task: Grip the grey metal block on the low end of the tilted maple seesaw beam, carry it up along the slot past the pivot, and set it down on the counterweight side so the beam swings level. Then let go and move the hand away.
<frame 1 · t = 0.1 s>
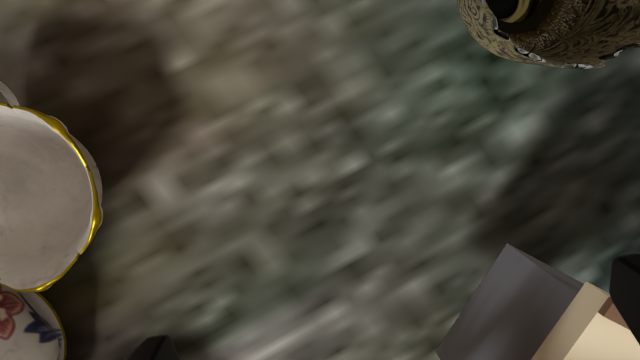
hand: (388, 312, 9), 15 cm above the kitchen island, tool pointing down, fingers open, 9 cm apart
cup: (499, 1, 23), on the kitchen island
chinaware: (48, 331, 27), on the kitchen island
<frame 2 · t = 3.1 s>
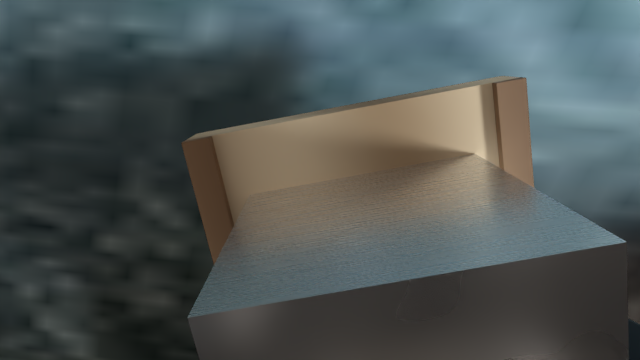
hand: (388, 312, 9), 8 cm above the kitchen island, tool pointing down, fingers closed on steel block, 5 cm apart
steel block: (378, 276, 11), point 6 cm above the kitchen island, tilted 10°, touching beam, gripper
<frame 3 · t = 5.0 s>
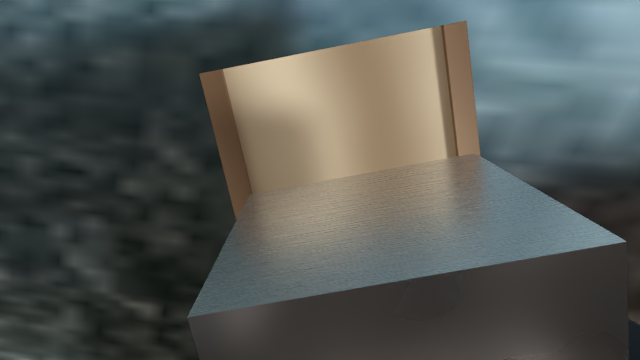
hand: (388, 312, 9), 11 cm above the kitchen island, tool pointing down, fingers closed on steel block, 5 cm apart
steel block: (378, 276, 11), point 9 cm above the kitchen island, tilted 10°, touching gripper
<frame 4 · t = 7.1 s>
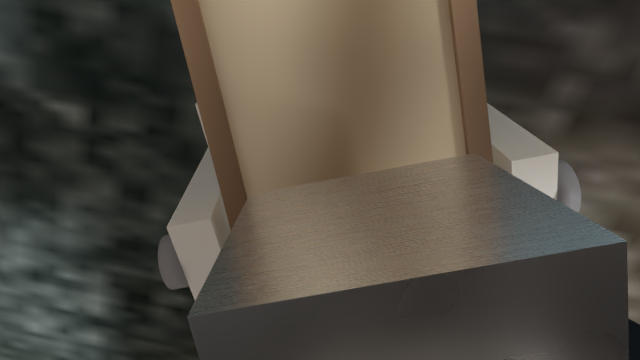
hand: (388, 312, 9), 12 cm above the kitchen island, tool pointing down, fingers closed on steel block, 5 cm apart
beam: (356, 201, 15), point 5 cm above the kitchen island, hinge at 10.1°
steel block: (378, 276, 11), point 10 cm above the kitchen island, tilted 10°, touching gripper
pivot stand: (341, 139, 20), on the kitchen island
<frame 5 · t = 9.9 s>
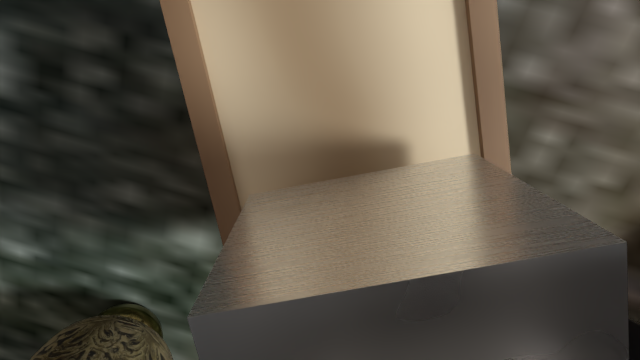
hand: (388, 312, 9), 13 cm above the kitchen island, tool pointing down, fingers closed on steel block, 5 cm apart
cup: (133, 321, 25), on the kitchen island
steel block: (378, 276, 11), point 11 cm above the kitchen island, tilted 10°, touching gripper
when the fingers open (12 cm above the kitchen island, at t = 11.0 s): steel block drops 3 cm, resting on beam.
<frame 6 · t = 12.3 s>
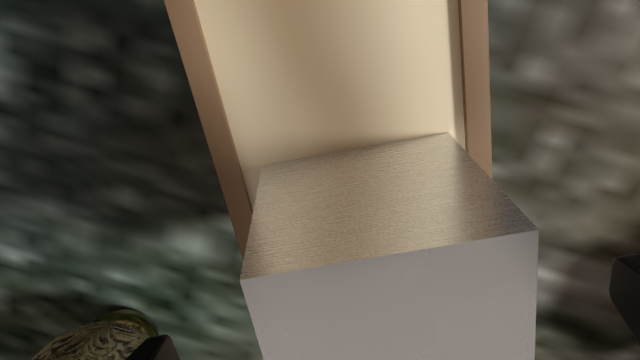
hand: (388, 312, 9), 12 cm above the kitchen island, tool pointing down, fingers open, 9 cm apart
cup: (130, 327, 25), on the kitchen island
steel block: (366, 228, 13), point 8 cm above the kitchen island, touching beam
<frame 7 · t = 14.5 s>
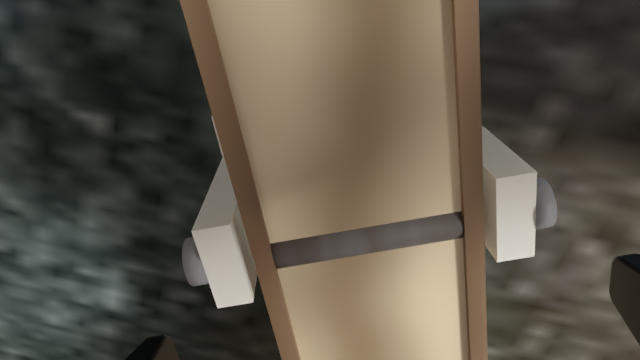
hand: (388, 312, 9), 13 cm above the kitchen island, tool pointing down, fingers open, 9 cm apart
beam: (357, 199, 17), point 5 cm above the kitchen island, hinge at -0.1°, touching steel block
pivot stand: (345, 150, 22), on the kitchen island
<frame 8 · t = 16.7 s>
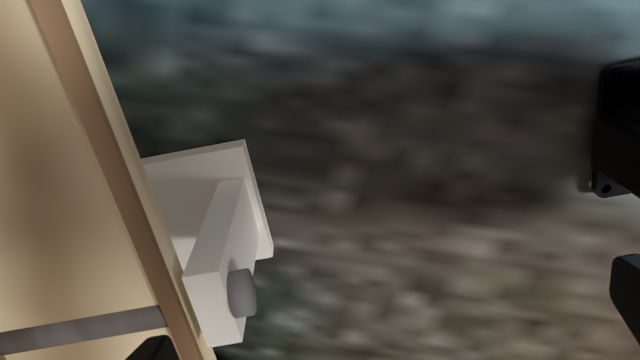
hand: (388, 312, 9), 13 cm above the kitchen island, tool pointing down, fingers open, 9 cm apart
beam: (113, 278, 18), point 5 cm above the kitchen island, hinge at -0.1°, touching steel block
pivot stand: (152, 215, 23), on the kitchen island
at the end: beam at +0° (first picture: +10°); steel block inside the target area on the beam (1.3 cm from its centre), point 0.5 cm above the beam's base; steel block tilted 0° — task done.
